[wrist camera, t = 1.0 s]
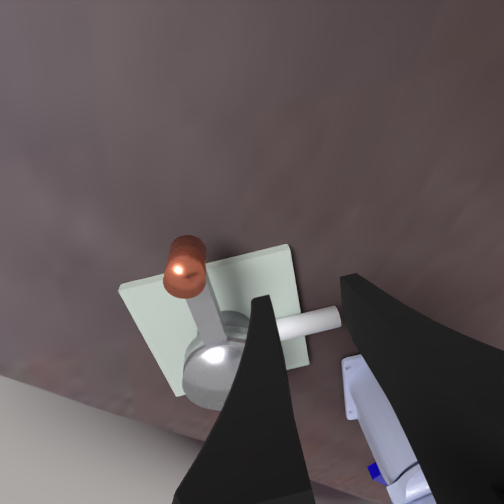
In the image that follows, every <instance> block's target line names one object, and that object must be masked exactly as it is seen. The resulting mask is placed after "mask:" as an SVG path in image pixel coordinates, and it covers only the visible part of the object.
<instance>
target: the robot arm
mask: <svg viewBox="0 0 504 504" xmlns="http://www.w3.org/2000/svg"><path fill="white" fill-rule="evenodd" d="M340 284H341V297H342V311H343V319H344V321H345V323H346V326H347V328H348V330H349V333H350V335H351V337H352V339H353V341H354V343H355V345H356V347H357V348H358V350H359V352H360V353H361V354H359V355H355V356H351V357H347V358H344V359H343V360H342V362H341V364H342V375H343V387H344V398H345V410H346V417H347V419H348V420H353V419H358V421H359V424H360V426H361V428H362V431H363V433H364V435H365V438H366V440H367V442H368V444H369V447H370V449H371V451H372V454H373V456H374V458H375V461H376V463H377V465H378V468H379V470H380V472H381V475H382V476H383V478H384V480H385V481H386V483H387V484H388V486H387V487H386V489H387V491H388V493H389V496H390V498H391V500H392V502H391V503H388V504H504V351H503V350H500V349H498V348H495V347H492V346H490V345H487V344H485V343H482V342H479V341H477V340H475V339H472V338H470V337H468V336H465V335H463V334H461V333H459V332H457V331H454V330H452V329H450V328H448V327H446V326H444V325H442V324H440V323H438V322H436V321H434V320H432V319H430V318H428V317H426V316H424V315H422V314H421V313H419V312H417V311H415V310H413V309H412V308H410V307H408V306H406V305H405V304H403V303H402V302H400V301H398V300H397V299H395V298H393V297H392V296H390V295H389V294H387V293H386V292H384V291H382V290H381V289H379V288H378V287H376V286H375V285H373V284H372V283H370V282H369V281H367V280H366V279H364V278H363V277H361V276H360V275H358V274H357V273H355V274H350V275H346V276H342V277H340ZM172 504H315V500H314V496H313V492H312V488H311V484H310V480H309V476H308V472H307V468H306V464H305V460H304V456H303V452H302V448H301V444H300V440H299V436H298V432H297V428H296V424H295V420H294V414H293V408H292V401H291V395H290V389H289V383H288V377H287V370H286V364H285V358H284V354H283V349H282V345H281V340H280V336H279V332H278V327H277V323H276V318H275V314H274V310H273V306H272V302H271V299H270V295H269V294H268V295H264V296H260V297H256V298H253V299H252V300H251V314H250V321H249V327H248V332H247V337H246V342H245V346H244V349H243V353H242V356H241V360H240V363H239V367H238V370H237V373H236V375H235V378H234V381H233V384H232V386H231V389H230V391H229V394H228V396H227V398H226V401H225V403H224V405H223V408H222V410H221V412H220V414H219V416H218V418H217V420H216V422H215V424H214V426H213V428H212V430H211V432H210V434H209V436H208V437H207V439H206V441H205V443H204V445H203V447H202V449H201V451H200V452H199V454H198V456H197V458H196V459H195V461H194V463H193V464H192V466H191V467H190V469H189V471H188V472H187V474H186V475H185V477H184V479H183V480H182V482H181V484H180V485H179V487H178V488H177V490H176V492H175V494H174V498H173V502H172Z"/></svg>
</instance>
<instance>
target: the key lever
mask: <svg viewBox="0 0 504 504" xmlns="http://www.w3.org/2000/svg"><path fill="white" fill-rule="evenodd" d="M163 285H164V288H165V290H166V291H167V292H168V293H169V294H170V295H172V296H174V297H176V298H180V299H186V302H187V304H188V307H189V309H190V311H191V314H192V316H193V319H194V321H195V324H196V326H197V328H198V331H199V333H200V335H199V336H197V337H196V338H195V339H194V340H192V342H191V343H190V344H189V345H188V347H187V349H186V352H185V356H184V366H183V378H182V387H183V391H184V393H185V395H186V396H187V397H188V398H189V399H190V400H191V401H192V402H193V403H195V404H197V405H199V406H201V407H204V408H207V409H211V410H220V411H221V410H222V408H223V405H224V403H225V401H226V398H227V396H228V394H229V391H230V389H231V386H232V384H233V381H234V378H235V375H236V373H237V370H238V367H239V363H240V360H241V356H242V353H243V349H244V346H245V342H246V337H247V332H248V328H244V327H240V326H226V325H225V322H224V319H223V316H222V313H221V310H220V307H219V305H218V302H217V299H216V296H215V293H214V290H213V287H212V284H211V281H210V278H209V276H208V273H207V270H206V247H205V244H204V243H203V242H202V241H201V240H200V239H199V238H197V237H195V236H191V235H184V236H180V237H178V238H176V239H175V240H174V241H173V242H172V244H171V246H170V250H169V255H168V259H167V264H166V268H165V272H164V277H163Z"/></svg>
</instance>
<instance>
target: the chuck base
mask: <svg viewBox="0 0 504 504" xmlns="http://www.w3.org/2000/svg"><path fill="white" fill-rule="evenodd" d="M206 270H207V273H208V276H209V278H210V281H211V284H212V287H213V290H214V293H215V296H216V299H217V302H218V305H219V307H220V310H221V313H222V316H223V319H224V322H225V325H226V326H240V327H244V328H248V327H249V321H250V314H251V300H252V299H253V298H256V297H260V296H264V295H268V294H269V295H270V299H271V302H272V306H273V310H274V314H275V318H276V323H277V327H278V332H279V336H280V340H281V345H282V349H283V354H284V358H285V364H286V370H289V369H293V368H297V367H301V366H305V365H309V359H308V353H307V347H306V341H305V335H309V334H313V333H317V332H321V331H326V330H330V329H334V328H338V327H341V319H340V315H339V312H338V310H337V308H336V306H330V307H326V308H322V309H318V310H314V311H310V312H306V313H301V311H300V305H299V299H298V293H297V287H296V282H295V276H294V270H293V264H292V258H291V252H290V248H289V246H288V244H284V245H280V246H276V247H272V248H268V249H263V250H259V251H255V252H251V253H247V254H243V255H239V256H235V257H230V258H226V259H222V260H218V261H214V262H210V263H206ZM163 277H164V274H160V275H156V276H152V277H148V278H144V279H140V280H136V281H132V282H128V283H123V284H121V286H120V288H119V290H118V291H119V293H120V295H121V297H122V299H123V301H124V302H125V304H126V306H127V308H128V310H129V312H130V313H131V315H132V317H133V319H134V321H135V322H136V324H137V326H138V328H139V330H140V332H141V333H142V335H143V337H144V339H145V341H146V342H147V344H148V346H149V348H150V350H151V352H152V353H153V355H154V357H155V359H156V361H157V363H158V364H159V366H160V368H161V370H162V372H163V373H164V375H165V377H166V379H167V381H168V383H169V384H170V386H171V388H172V390H173V392H174V393H175V395H176V397H177V396H182V395H185V393H184V391H183V387H182V378H183V366H184V356H185V352H186V349H187V347H188V345H189V344H190V343H191V342H192V340H194V339H195V338H196V337H197V336H199V335H200V333H199V331H198V328H197V326H196V324H195V321H194V319H193V316H192V314H191V311H190V309H189V307H188V304H187V302H186V299H180V298H176V297H174V296H172V295H170V294H169V293H168V292H167V291H166V290H165V288H164V285H163Z"/></svg>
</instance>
